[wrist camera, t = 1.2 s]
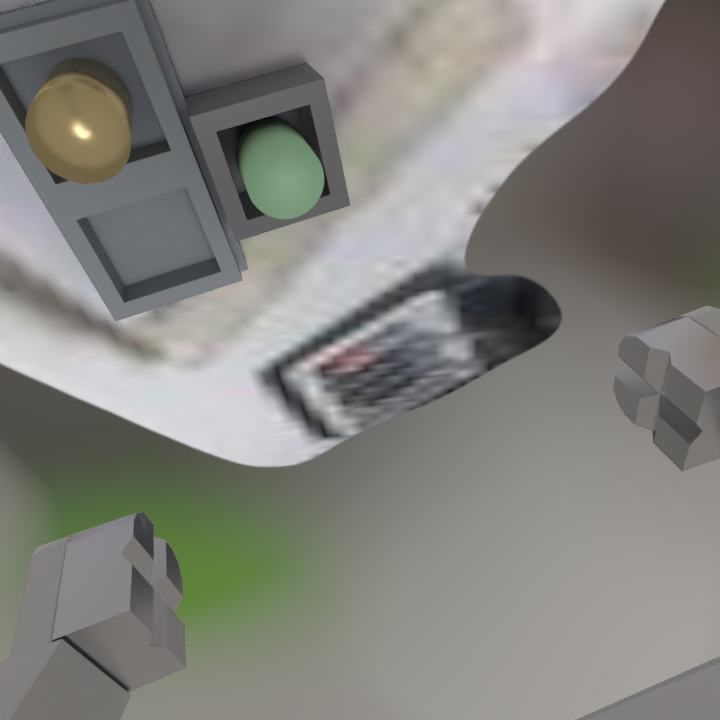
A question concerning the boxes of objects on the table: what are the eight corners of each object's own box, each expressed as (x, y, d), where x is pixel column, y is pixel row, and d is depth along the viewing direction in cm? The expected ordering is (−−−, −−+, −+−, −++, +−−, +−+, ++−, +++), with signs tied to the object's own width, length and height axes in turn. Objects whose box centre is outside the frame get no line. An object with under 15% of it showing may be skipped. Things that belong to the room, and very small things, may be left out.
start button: (225, 130, 29) (234, 154, 26) (297, 109, 30) (314, 131, 27) (249, 199, 32) (259, 228, 29) (314, 179, 32) (331, 206, 29)
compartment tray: (-52, 26, 25) (-72, 37, 23) (139, -23, 26) (139, -17, 24) (113, 302, 36) (111, 330, 33) (245, 260, 37) (252, 284, 34)
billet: (27, 70, 26) (3, 101, 22) (109, 47, 27) (103, 73, 22) (71, 152, 29) (58, 195, 24) (145, 130, 29) (146, 168, 25)
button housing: (184, 97, 30) (189, 117, 27) (306, 62, 31) (323, 78, 28) (227, 213, 35) (235, 241, 32) (332, 181, 35) (350, 205, 32)
